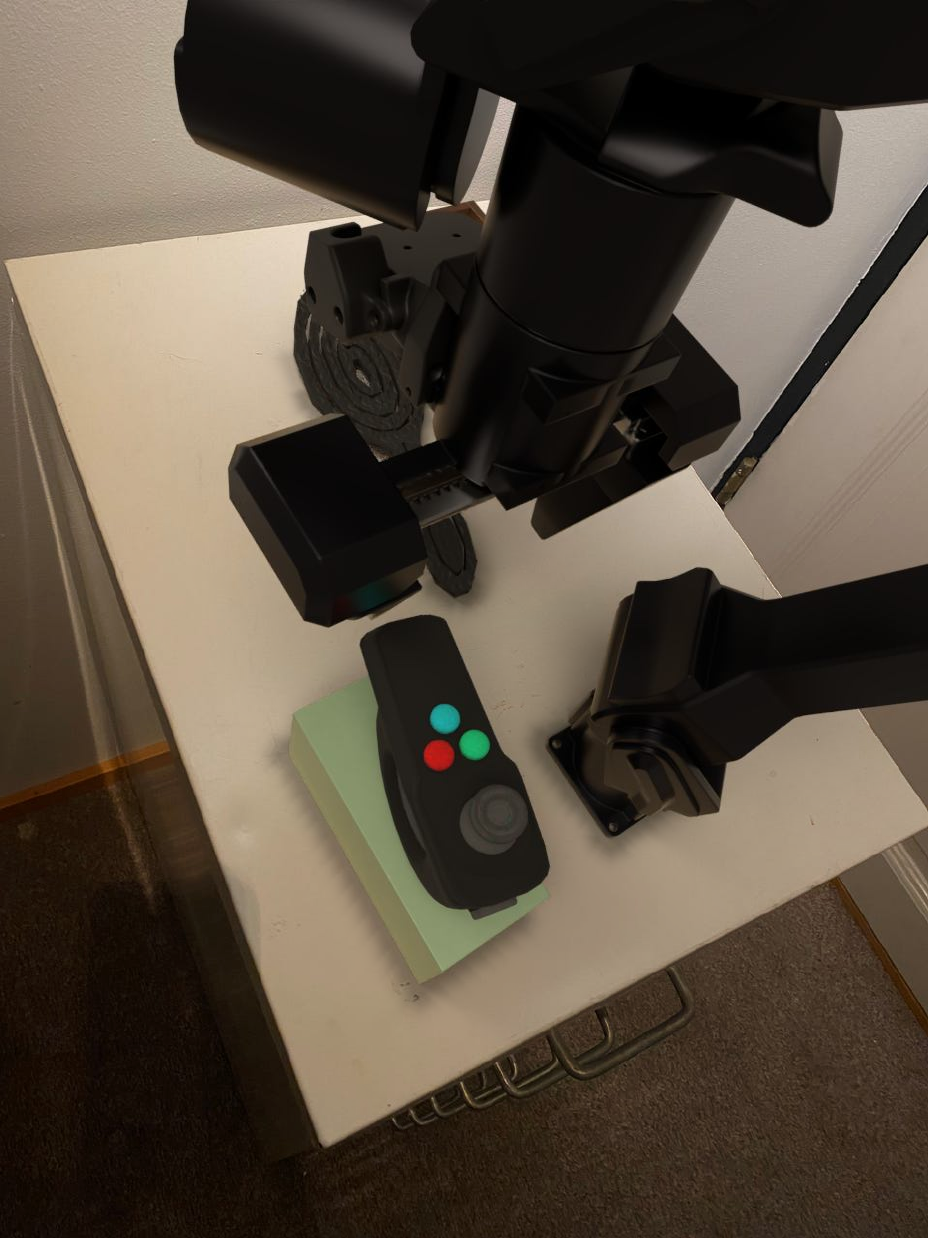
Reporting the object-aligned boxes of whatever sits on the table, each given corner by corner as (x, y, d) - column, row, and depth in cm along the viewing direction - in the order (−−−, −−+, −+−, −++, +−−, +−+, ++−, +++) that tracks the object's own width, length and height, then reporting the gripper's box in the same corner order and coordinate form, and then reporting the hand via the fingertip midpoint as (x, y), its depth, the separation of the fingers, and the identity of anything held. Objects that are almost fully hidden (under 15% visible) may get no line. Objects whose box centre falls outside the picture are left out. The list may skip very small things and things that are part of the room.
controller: (419, 950, 35) (471, 912, 27) (336, 692, 40) (358, 590, 31) (510, 916, 37) (586, 870, 28) (419, 671, 42) (461, 568, 33)
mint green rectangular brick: (516, 917, 43) (551, 896, 38) (419, 984, 40) (442, 972, 35) (384, 704, 47) (400, 659, 42) (288, 753, 44) (292, 712, 39)
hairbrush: (408, 592, 47) (273, 268, 55) (397, 619, 50) (271, 310, 58) (533, 558, 50) (389, 257, 58) (515, 586, 53) (381, 297, 61)
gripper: (643, 66, 29) (522, 380, 43) (123, 151, 22) (174, 503, 35) (855, 277, 26) (652, 545, 40) (334, 468, 18) (301, 721, 32)
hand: (457, 568), depth 36 cm, fingers open, 9 cm apart
